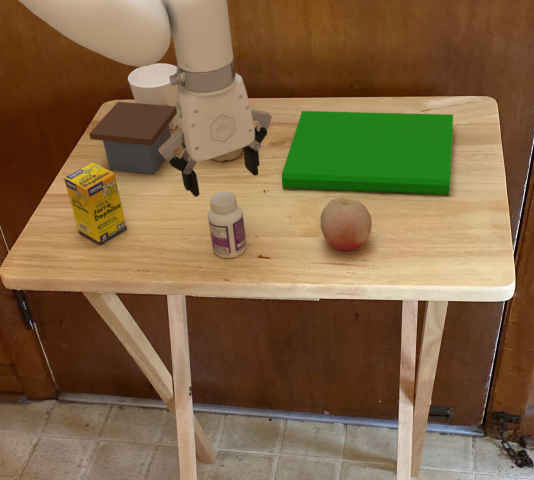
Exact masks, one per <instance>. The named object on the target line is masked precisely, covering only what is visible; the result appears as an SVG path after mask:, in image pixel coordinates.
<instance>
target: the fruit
mask: <svg viewBox="0 0 534 480" xmlns="http://www.w3.org/2000/svg"><path fill="white" fill-rule="evenodd" d="M319 219H320V221H319V222H320V230H321V233H322V235H323V238H324V239H325V240H326V242H327V243H328V244H329V245H330V246H332V247H333V248H334V249H336V250H339V251H343V252H351V251H355V250H358V249H360V248H361V247H363V245H364V244H365V243H366V242H367V241H368V239H369V237H370V235H371V231H372V226H373V225H372V222H373V221H372V216H371V213H370V211H369V210H368V209H367V207H366V206H365V204H363V203H362V202H361V201H358V200H356V199H355V200H354V199H347V198H344V197H337V198H334V199H332V200H330V201H329V202H327V204H326V205H325V206H324V208H323V209H322V212H321V214H320V218H319Z"/></svg>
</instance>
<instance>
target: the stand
mask: <svg viewBox="0 0 534 480" xmlns="http://www.w3.org/2000/svg"><path fill="white" fill-rule="evenodd" d="M176 114H177V107H175V106H163V105H151V104H140V103H136V102H128V101H117V102H116V103H115V104H114V105H113V107H111V109H110V110H108V112H107V113H106V114H105V115H104V116H103V118H102V119H100V120H99V122H98V123H97V124H96V126H94V128H93V129H92V130H91V131H90V132H89V133H88V135H89V139H90V140H94V141H102V142H103V146H104V150H105V151H104V152H105V154H106V160H107V163H108V168H109V171H119V172H127V173H137V174H145V175H155V174H156V173H158V171H159V169H160V168H161V166H162V165H163V164H164V162H165V161H166V159H165V158H164V157H163V156H162V155H161V154H160V153H159V151H158V149H159V148H160V147H161V146H162V145H163V144H164V143H165V142H166V141H167V140H168V139H169V138H170V137H171V136H172V135H171V130H170V129H169V123H170V122H171V120H172V119H173V118H174V117H175V115H176Z"/></svg>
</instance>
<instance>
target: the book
mask: <svg viewBox="0 0 534 480" xmlns="http://www.w3.org/2000/svg"><path fill="white" fill-rule="evenodd" d="M453 128H454V114H449V113H448V114H447V113H444V114H443V113H442V114H440V113H407V112H406V113H405V112H403V113H402V112H400V113H399V112H361V111H360V112H359V111H358V112H357V111H325V110H324V111H323V110H321V111H320V110H319V111H318V110H317V111H315V110H301V112H300V116H299V119H298V123H297V125H296V129H295V132H294V134H293V138H292V141H291V144H290V147H289V150H288V153H287V156H286V160H285V163H284V166H283V169H282V172H281V186H282V189H292V190H293V189H294V190H315V191H317V190H320V191H340V192H341V191H345V192H365V193H368V192H369V193H389V194H390V193H391V194H411V195H414V194H415V195H435V196H436V195H438V196H450V189H451V188H450V187H451V174H452V173H451V172H452V153H453V152H452V151H453Z"/></svg>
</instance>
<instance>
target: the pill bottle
mask: <svg viewBox="0 0 534 480" xmlns="http://www.w3.org/2000/svg"><path fill="white" fill-rule="evenodd" d="M209 206H210V209H209V210H208V212H207V220H208V225H209V233H210V239H211V244H212V251H213V252H214V254H215V255H216V256H217V257H220V258H223V259H232V258H233V259H235V258H237V257H240V256H242V254H244V253H245V251H246V249H247V238H246V236H247V235H246V229H245V222H244V221H245V220H244V213H243V209H242V208H241V206H240V205H238V202H237V197H236V195H235V193H233V192H230V191H218V192H215V193H214V194H213V195H211V197H210V198H209Z"/></svg>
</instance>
